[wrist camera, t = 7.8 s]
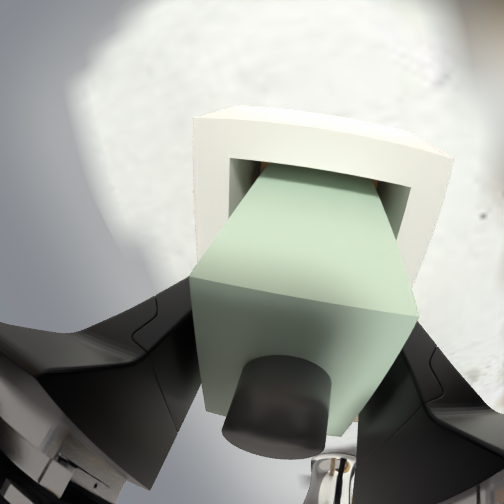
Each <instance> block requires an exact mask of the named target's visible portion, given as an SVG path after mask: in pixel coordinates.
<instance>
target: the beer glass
mask: <svg viewBox="0 0 504 504" xmlns="http://www.w3.org/2000/svg"><path fill="white" fill-rule="evenodd" d="M355 468H356V457H355V456H352V455H349V454H341V453H328V454H321V455H317V456H315V457H313V458H312V460H311V472H312V473H311V483H310V487H309V490H308V493H307V496H306V498H305V500H304V503H303V504H352V481H353V476H354V473H355Z"/></svg>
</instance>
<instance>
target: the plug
mask: <svg viewBox="0 0 504 504" xmlns="http://www.w3.org/2000/svg"><path fill="white" fill-rule="evenodd" d="M189 283H190V293H191V303H192V313H193V322H194V330H195V338H196V346H197V354H198V361H199V369H200V376H201V382H202V389H203V395H204V401H205V408H206V411H208V412H212V413H215V414H219V415H223V416H226V419H225V422H224V425H223V428H222V434H223V436H224V437H225V438H226V439H227V440H228V441H229V442H230V443H231V444H233V445H235V446H236V447H238V448H240V449H242V450H245V451H247V452H250V453H253V454H256V455H260V456H264V457H269V458H275V459H289V460H292V459H304V458H309V457H313V456H316V455H318V454H320V453H321V452H322V451H323V450H324V448H325V442H326V435H330V436H339V437H341V436H342V435H343V434H344V432H345V431H346V430H347V429H348V427H349V426H350V425H351V423H352V422H353V421H354V420H355V418H356V417H357V416H358V414H359V413H360V411H361V410H362V409H363V407H364V406H365V405H366V403H367V402H368V400H369V399H370V398H371V396H372V395H373V393H374V392H375V390H376V389H377V387H378V386H379V384H380V383H381V381H382V380H383V378H384V377H385V375H386V374H387V372H388V371H389V369H390V367H391V366H392V364H393V363H394V361H395V359H396V358H397V356H398V354H399V353H400V351H401V349H402V348H403V346H404V344H405V342H406V341H407V339H408V337H409V335H410V333H411V332H412V330H413V328H414V326H415V324H416V322H417V320H418V319H419V313H418V309H417V305H416V302H415V298H414V295H413V291H412V288H411V285H410V281H409V278H408V275H407V272H406V269H405V265H404V262H403V259H402V256H401V253H400V251H399V248H398V245H397V242H396V239H395V236H394V234H393V231H392V228H391V226H390V223H389V221H388V218H387V215H386V213H385V210H384V208H383V205H382V203H381V201H380V198H379V196H378V193H377V191H376V189H375V186H374V184H373V182H372V180H371V179H370V178H365V177H360V176H355V175H350V174H344V173H339V172H333V171H327V170H321V169H315V168H308V167H302V166H295V165H288V164H280V163H272V162H269V164H268V165H267V167H266V168H265V169H264V171H263V172H262V173H261V175H260V176H259V177H258V179H257V180H256V181H255V183H254V184H253V186H252V187H251V188H250V190H249V191H248V192H247V194H246V195H245V197H244V198H243V199H242V201H241V202H240V204H239V205H238V206H237V208H236V209H235V211H234V212H233V213H232V215H231V216H230V218H229V219H228V220H227V222H226V223H225V225H224V226H223V227H222V229H221V230H220V232H219V233H218V235H217V236H216V237H215V239H214V240H213V242H212V243H211V245H210V246H209V248H208V249H207V250H206V252H205V253H204V255H203V256H202V258H201V259H200V261H199V262H198V263H197V265H196V266H195V268H194V269H193V271H192V272H191V274H190V275H189Z"/></svg>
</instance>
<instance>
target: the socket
mask: <svg viewBox="0 0 504 504" xmlns="http://www.w3.org/2000/svg"><path fill="white" fill-rule="evenodd" d="M261 161H264V162H272V163H280V164H288V165H295V166H302V167H308V168H315V169H321V170H327V171H333V172H339V173H344V174H350V175H355V176H360V177H365V178H370V179H375V180H378V184H377V188H376V191H377V193H378V196H379V198H380V201H381V203H382V205H383V208H384V210H385V213H386V215H387V218H388V221H389V223H390V226H391V228H392V231H393V234H394V236H395V239H396V242H397V245H398V248H399V251H400V253H401V256H402V259H403V262H404V265H405V269H406V272H407V275H408V278H409V281H410V285H411V288H412V286H413V284H414V282H415V279H416V277H417V274H418V272H419V270H420V267H421V264H422V262H423V259H424V257H425V254H426V251H427V249H428V246H429V243H430V240H431V238H432V235H433V232H434V229H435V226H436V223H437V220H438V217H439V213H440V210H441V207H442V204H443V200H444V197H445V193H446V190H447V186H448V182H449V178H450V174H451V170H452V166H453V162H454V159H453V158H451V157H450V156H448V155H447V154H445V153H444V152H443V151H441V150H439V149H438V148H436V147H435V146H433V145H432V144H430V143H429V142H427V141H425V140H424V139H422V138H421V137H419V136H417V135H416V134H414V133H412V132H409V131H405V130H401V129H397V128H393V127H389V126H384V125H380V124H375V123H371V122H366V121H361V120H356V119H350V118H345V117H339V116H333V115H327V114H320V113H313V112H306V111H298V110H289V109H280V108H269V107H256V106H240V105H238V106H234V107H230V108H226V109H223V110H219V111H215V112H212V113H208V114H204V115H201V116H198V117H194V118H193V173H194V207H195V231H196V250H197V263H198V262H199V261H200V259H201V258H202V256H203V255H204V253H205V252H206V250H207V249H208V248H209V246H210V245H211V243H212V242H213V240H214V239H215V237H216V236H217V235H218V233H219V232H220V230H221V229H222V227H223V226H224V225H225V223H226V222H227V220H228V219H229V218H230V216H231V215H232V213H233V212H234V211H235V209H236V208H237V206H238V205H239V204H240V202H241V201H242V199H243V198H244V197H245V195H246V194H247V192H248V191H249V190H250V188H251V187H252V186H253V184H254V183H255V181H256V180H257V179H258V177H259V176H260V171H261Z"/></svg>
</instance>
